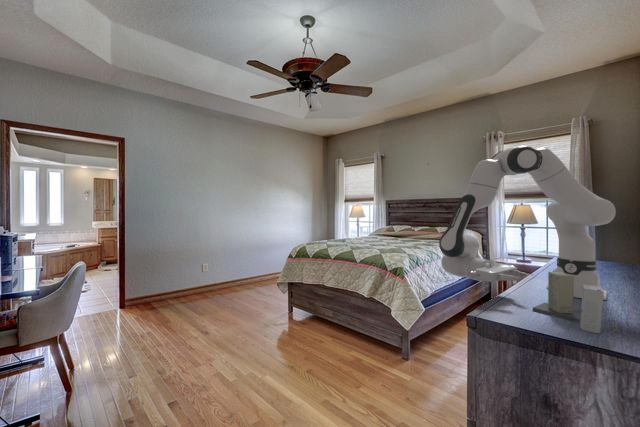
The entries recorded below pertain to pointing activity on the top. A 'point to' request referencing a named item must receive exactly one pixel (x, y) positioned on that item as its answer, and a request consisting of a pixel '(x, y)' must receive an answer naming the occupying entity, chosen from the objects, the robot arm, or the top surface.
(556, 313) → the charcoal mat
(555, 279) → the skincare box
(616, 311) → the top surface
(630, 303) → the top surface
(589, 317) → the skincare box
